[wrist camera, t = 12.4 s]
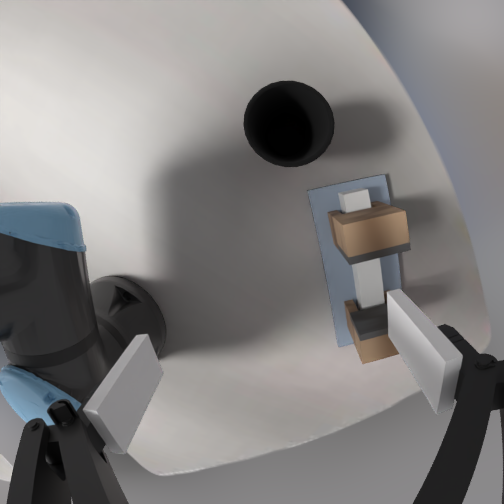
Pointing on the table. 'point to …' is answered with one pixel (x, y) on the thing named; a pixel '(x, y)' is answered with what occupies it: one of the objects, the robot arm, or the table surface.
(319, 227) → the rail
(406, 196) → the table surface
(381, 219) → the fixed jaw
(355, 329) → the two-tone tabbed box
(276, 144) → the cup
